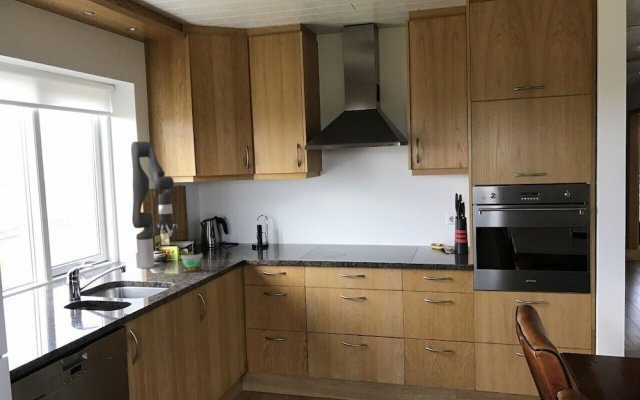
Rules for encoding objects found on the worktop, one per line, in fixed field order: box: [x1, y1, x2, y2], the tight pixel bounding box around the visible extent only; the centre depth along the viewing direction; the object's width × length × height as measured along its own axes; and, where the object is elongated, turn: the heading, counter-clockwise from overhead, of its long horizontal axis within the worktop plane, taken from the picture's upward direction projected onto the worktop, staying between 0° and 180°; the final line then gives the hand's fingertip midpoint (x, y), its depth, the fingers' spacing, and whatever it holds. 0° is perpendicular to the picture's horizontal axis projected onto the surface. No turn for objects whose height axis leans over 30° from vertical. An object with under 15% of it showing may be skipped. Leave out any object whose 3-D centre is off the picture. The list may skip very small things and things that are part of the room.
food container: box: [180, 252, 204, 274], centre depth 297 cm, size 12×6×10 cm, turn 105°
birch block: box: [160, 232, 174, 246], centre depth 294 cm, size 4×4×6 cm
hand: (167, 242), depth 294 cm, fingers closed on birch block, 4 cm apart
